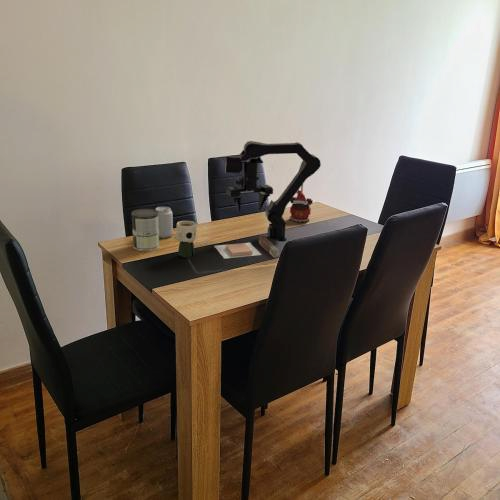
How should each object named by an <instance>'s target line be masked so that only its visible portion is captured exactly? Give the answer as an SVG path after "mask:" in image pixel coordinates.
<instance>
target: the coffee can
mask: <svg viewBox="0 0 500 500" xmlns="http://www.w3.org/2000/svg"><path fill="white" fill-rule="evenodd" d="M130 214H131V224H132V227H131V228H132V229H131V230H132V242H133V243H132V244H133V246H132V247H133V249H134V250H136V251H138V252H139V251H140V252H149V251H151V252H152V251H155V250H158V249H159V248H160V238H159V224H158V214H159V213H158V211H156V209H153V208H139V209H135V210H133V211H131V213H130Z"/></svg>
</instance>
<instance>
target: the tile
mask: <svg viewBox="0 0 500 500" xmlns="http://www.w3.org/2000/svg"><path fill="white" fill-rule="evenodd" d="M245 243H246V242H243V243H242V242H241V244H240V243H232V244H230V245H229V244H224V245H225V249H226V250H227V251H228V252H229V253H230V254H231V256H232V257H233V256H244V255H252V250H251V249H250V248H249V247H248V246H247V245H246V244H245Z"/></svg>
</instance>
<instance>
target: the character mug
mask: <svg viewBox="0 0 500 500" xmlns="http://www.w3.org/2000/svg"><path fill="white" fill-rule="evenodd" d="M196 223H197V222H195V221H193V220H192V221H191V220H181V221H177V223H176V231H175V239H176V240H177V241H179V243H178V244H179V245H178V252H177V254H178V256H179V257H181V258H191V257H193V256H195V255H196V254H195V253H196V251H195V245H194V241H196V238H197V225H196Z"/></svg>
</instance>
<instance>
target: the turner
mask: <svg viewBox="0 0 500 500" xmlns="http://www.w3.org/2000/svg"><path fill="white" fill-rule="evenodd" d="M258 245H260V246H261V247H262V248H263V249H264V250H265V252H267V253H268V254H270V255H271V256H272V257H273V258H280V250H279V248H277V246H275V244H274V243H273V242H271V241H270V240H269V238H268V237H267V236H259V237H258Z"/></svg>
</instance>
